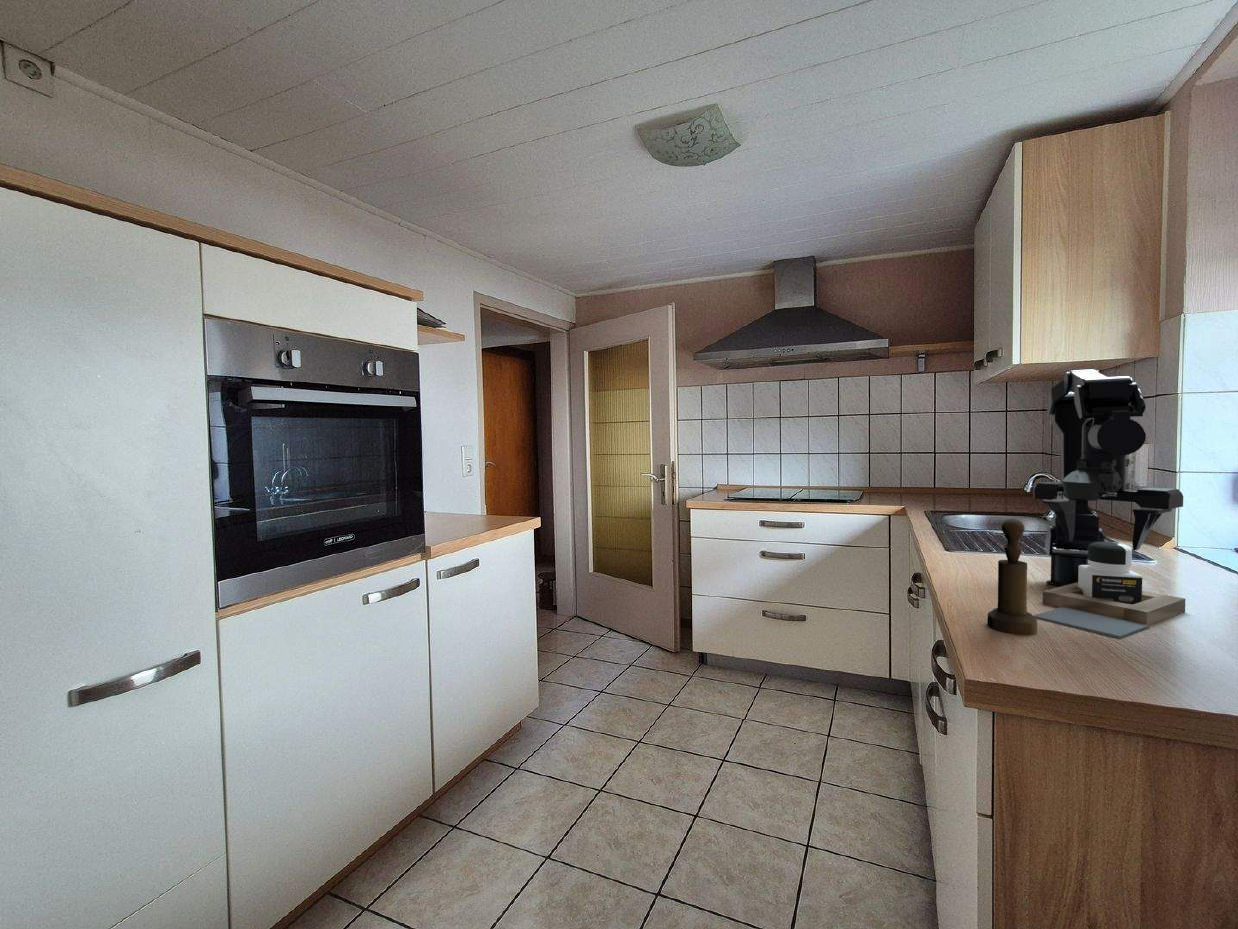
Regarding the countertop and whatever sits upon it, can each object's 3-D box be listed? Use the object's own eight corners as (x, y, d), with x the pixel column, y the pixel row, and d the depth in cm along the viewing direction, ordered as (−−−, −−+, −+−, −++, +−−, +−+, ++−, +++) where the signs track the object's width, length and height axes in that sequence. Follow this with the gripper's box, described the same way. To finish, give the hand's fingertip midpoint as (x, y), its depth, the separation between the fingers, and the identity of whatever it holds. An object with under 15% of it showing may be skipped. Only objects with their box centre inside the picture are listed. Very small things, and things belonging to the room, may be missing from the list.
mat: (1032, 619, 98) (1033, 615, 98) (1063, 609, 103) (1063, 606, 103) (1120, 640, 88) (1120, 636, 88) (1149, 628, 92) (1149, 625, 92)
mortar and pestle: (1029, 625, 95) (1030, 517, 94) (1043, 638, 89) (1045, 523, 88) (982, 622, 97) (983, 516, 96) (993, 634, 91) (995, 521, 90)
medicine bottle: (1091, 612, 103) (1092, 545, 102) (1077, 601, 109) (1078, 539, 109) (1142, 616, 100) (1143, 548, 100) (1124, 605, 107) (1125, 540, 106)
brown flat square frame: (1042, 604, 106) (1042, 591, 106) (1083, 593, 113) (1083, 580, 113) (1146, 627, 93) (1146, 612, 93) (1185, 612, 100) (1185, 598, 100)
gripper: (1016, 453, 101) (1014, 542, 101) (1153, 456, 84) (1150, 562, 85) (1050, 451, 106) (1048, 535, 107) (1186, 453, 89) (1183, 553, 90)
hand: (1101, 545), depth 97 cm, fingers open, 9 cm apart
